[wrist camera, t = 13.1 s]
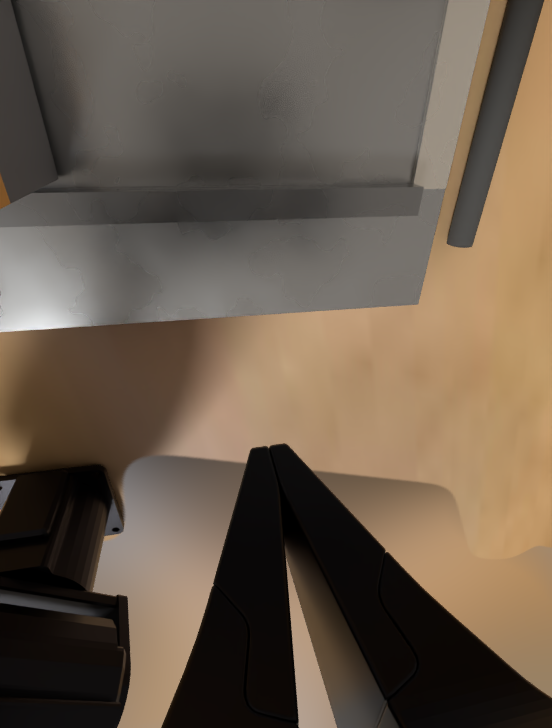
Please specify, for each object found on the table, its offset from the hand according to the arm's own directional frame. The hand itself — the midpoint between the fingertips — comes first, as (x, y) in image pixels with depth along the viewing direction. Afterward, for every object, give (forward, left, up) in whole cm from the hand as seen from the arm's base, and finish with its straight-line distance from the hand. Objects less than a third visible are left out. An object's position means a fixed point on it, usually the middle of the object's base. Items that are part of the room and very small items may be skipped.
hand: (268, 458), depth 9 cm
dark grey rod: (+7, -12, -12) cm, 18 cm away
